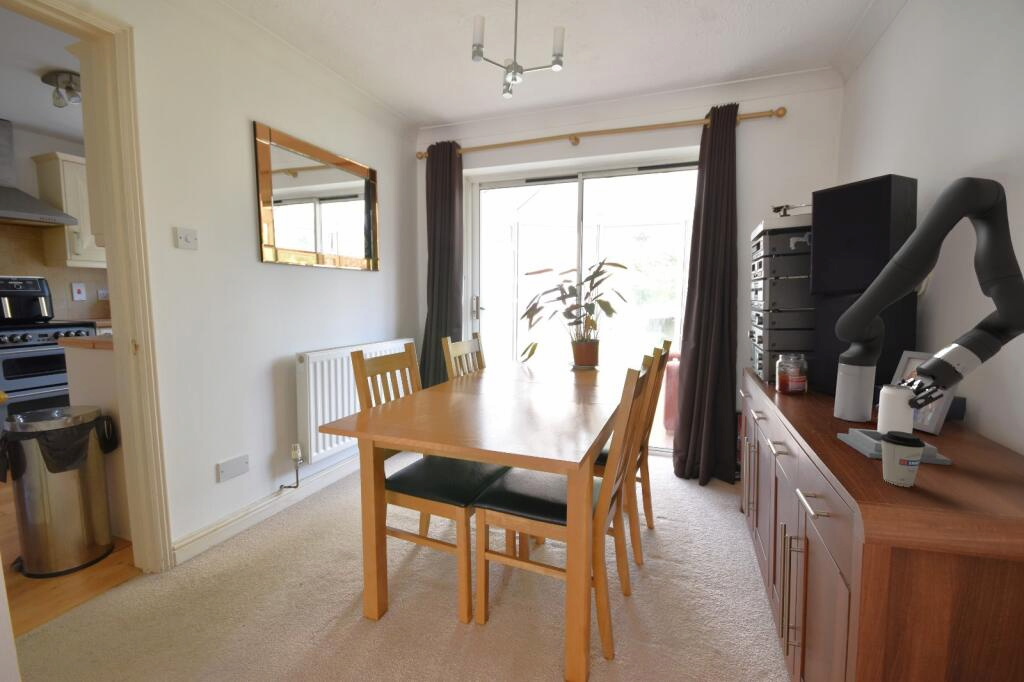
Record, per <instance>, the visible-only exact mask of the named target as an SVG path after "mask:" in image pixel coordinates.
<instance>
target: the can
mask: <svg viewBox="0 0 1024 682" xmlns="http://www.w3.org/2000/svg"><path fill="white" fill-rule="evenodd" d="M882 386H883V387H882V388H881V390H880V392H879V403H878V404H879V411H878V416H877V417H878V418H877V429H876V430H877V431H878V432H879V433H880V434H882V435H884V434H887V433H888V431H899V432H906V433H910V434H913V427H914V418H915V417H914V416H915V415H914V414H915V408H913V409H912V408H911V407H910V406H909V404H908V403H909V400H910V399H912V398H914V397H915V393H913V388H912V387H909V386H903V385H893V384H891V383H890V384H883V385H882ZM911 388H912V389H911Z"/></svg>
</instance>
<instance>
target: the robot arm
mask: <svg viewBox="0 0 1024 682" xmlns="http://www.w3.org/2000/svg"><path fill="white" fill-rule="evenodd" d="M1006 195H1007V194H1006V191H1005V188H1004V186H1003V185H1002V184H1001V183H1000V182H999V181H997V180H994V179H990V178H985V177H983V178H982V177H973V176H966V177H965V176H964V177H960V178H958V179H955V180H953V181H951V182H950V183H949V184H947V185H946V186H945V187H944V188H943V189H942V190H941V192H940V193H939V194H938V196H937V197H936V199H935V200H934V202H932V205H931V207H930V208H929V209H928V211H927V212H926V214H925V215H924V217H923V219H922V220H921V221H920V223H919V224H918V226H917V227H916V228H915V229H914V230H913V232H912V233H911V234H910V236H909V237H908V239H907V240H906V241H905V242H904V244H902V246H901V247H900V249H899V250H898V251H897V252H896V253H895V254H894V255H893V257H892V258H891V259H890V261H888V263H887V264H886V265H885V266H884V268H883V269H882V270H881V272H879V274H878V276H877V277H876V278H875V279H874V280H873V282H872V283H871V284H870V285H869V287H867V289H866V290H865V291H864V292H863V293H862V295H861V296H860V297H858V299H857V300H856V301H855V302H853V304H852V305H850V307H849V308H848V309H847V310H846V311H845V312H844V313H842V315H841V316H840V317H839V318H838V320H837V321H836V324H835V328H834V331H835V336H836V337H837V339H838V340H840V341H842V342H845V343H851V344H850V347H849V348H848V349H847V350H846V351H844V352H842V353H840V355H839V358H838V366H837V367H838V368H837V379H836V388H835V389H836V390H835V400H834V409H833V410H834V411H833V416H834V417H835V418H837V419H839V420H840V419H841V420H844V421H849V422H857V423H867V422H866V421H870V422H871V418H872V409H873V400H874V391H875V390H874V389H875V388H874V387H875V378H876V369H877V362H878V359H880V356H881V355H882V354H881V353H882V348H883V343H884V336H885V325H884V322H883V319H882V318H881V316H880V315H879V314H881V312H882V311H883V310H885V309H887V307H889V306H890V305H892V304H894V303H895V302H897V301H899V300H901V299H902V298H904V297H906V295H909V294H910V293H912V292H913V291H914V290H915V289H916V288H918V287H919V286H920V285H921V284H922V283H923V282H924V280H925V279H926V278H927V277H928V276H929V275H930V274H931V273H932V272H933V270H934V269H935V267H936V265H937V263H938V260H939V258H940V254H941V250H942V246H943V242H944V240H945V239H946V237H947V236H948V235H949V233H950V232H951V231H952V230H953V229H954V228H955V226H956V225H958V223H960V222H961V220H962V219H964V218H967V219H968V220H969V221H970V224H971V225H972V227H973V229H974V232H975V236H976V245H975V252H974V256H973V257H974V259H973V266H974V267H973V268H974V271H975V274H976V278H977V281H978V284H979V286H980V290H981V292H982V294H983V295H984V296H985V297H987V298H991V299H992V301H993V303H994V305H995V307H996V310H994V311H992V312H991V313H990V314H988V315H987V316H985V317H984V318H983V319H982V320H981V321H980V322H978V323H977V324H976V325H975V326H974V327H973V328H971V330H969V331H967V332H965V333H964V334H962V335H961V336H959V337H958V338H957V339H955V340H954V341H952V342H951V343H950V344H948V345H947V346H945V347H943V348H941V349H940V350H939V351H937V352H936V353H935V354H933V355H931V356H930V357H928V359H926V360H925V361H924V362H922V363H920V365H918V366H916V368H915V372H916V376H912V377H911V378H909V379H908V380H907V379H905V378H904V377H900V378H898V379H897V380H896V381H895V382H894V383H893V384H892V385H903V386H909V387H912V388H913V393H915V397H914V398H912V399H910V400H909V403H908V404H909V406H910V407H911V408H912V409H913V408H914V409H916V410H921V409H922V408H923V409H924V408H925V407H926V406H928V405H930V404H932V403H935V402H936V401H937V400H940V399H941V398H943V397H944V396H945V394H944V393H943V392H944V391H945V392H946V391H948V390H950V389H952V388H953V387H954V386H956V385H957V384H958V383H960V382H962V381H963V380H964V379H966V378H967V377H968V376H969V375H971V374H973V373H974V372H975V371H976V370H977V369H978V368H979V367H980V366H981V365H983V364H984V363H986V362H987V361H988V360H990V359H991V358H993V357H994V356H995V355H996V354H998V353H999V352H1000V351H1001V350H1002V348H1003V347H1004V346H1006V345H1007V344H1009V342H1011V341H1012V340H1014V339H1015V338H1018V337H1019V336H1021V335H1023V334H1024V276H1023V273H1022V270H1021V267H1020V264H1019V262H1018V259H1017V256H1016V253H1015V250H1014V246H1013V241H1012V236H1011V229H1010V222H1009V215H1008V213H1009V212H1008V202H1007V196H1006ZM912 388H911V389H912ZM942 391H943V392H942ZM875 409H876V410H877V411H878V412H879V403H877V404H876V405H875Z"/></svg>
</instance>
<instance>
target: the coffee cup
mask: <svg viewBox="0 0 1024 682" xmlns="http://www.w3.org/2000/svg"><path fill="white" fill-rule="evenodd" d="M880 439H881V440H882V459H881V460H882V476H883V477H882V478H883V479H884V480H885V482H886V481H887V482H886V483H888V482H889V483H888V484H890V483H891V484H890V485H893V484H894V486H897V485H898V487H903V486H904V487H905V488H911V487H910V486H912V487H913V486H914V482H915V479H916V475H917V471H918V468H919V466H920V463H921V462H920V458H921V455H922V451H923V448H924V447H925V443H926V442H925V441H923V440H921V437H919V436H918V435H916V434H914V433H912V434H910V433H906V432H899V431H888V433H887V434H884V435H882V436H881V437H880ZM924 442H925V443H924ZM884 480H883V481H884ZM904 487H903V488H904Z"/></svg>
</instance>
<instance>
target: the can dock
mask: <svg viewBox="0 0 1024 682" xmlns="http://www.w3.org/2000/svg"><path fill="white" fill-rule="evenodd" d="M836 435H837V436H836V437H837V439H839V440H840V441H842V442H844V443H846V445H848V446H850V447H852V448H853V449H855V450H857V451H858V452H860V453H861V454H862V455H865V456H866V457H867V458H869V459H877V458H878V459H879V460H882V440H881V439H880V437H881V436H882V434H880V433H879V432H878V431H877V429H876V430H875V429H874V430H873V429H866V428H865V429H863V428H852V427H849V428H848V433H843V432H842V433H841V432H837V434H836ZM923 442H924V443H925V447H924V448H923V451H922V455H921V458H920V462H919V463H922V462H923V463H926V464H934V465H935V464H936V465H945V466H947V465H948V466H951V464H952V459H950V458H948V457H946V456H944V455H943V454H940V453H938V447H936V446H934V445H931V444H930V443H927V442H926V441H923ZM878 459H877V460H878Z"/></svg>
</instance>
